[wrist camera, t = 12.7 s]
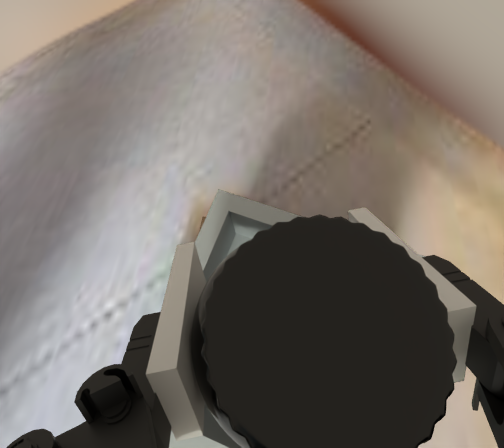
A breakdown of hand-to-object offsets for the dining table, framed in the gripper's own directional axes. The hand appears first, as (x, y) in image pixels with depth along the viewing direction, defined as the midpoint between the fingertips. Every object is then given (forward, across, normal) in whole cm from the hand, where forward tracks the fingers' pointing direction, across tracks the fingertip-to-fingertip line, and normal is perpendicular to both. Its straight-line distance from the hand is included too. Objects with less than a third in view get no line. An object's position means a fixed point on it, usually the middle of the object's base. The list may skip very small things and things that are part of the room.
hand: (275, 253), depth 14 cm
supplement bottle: (+1, 0, -6) cm, 6 cm away
